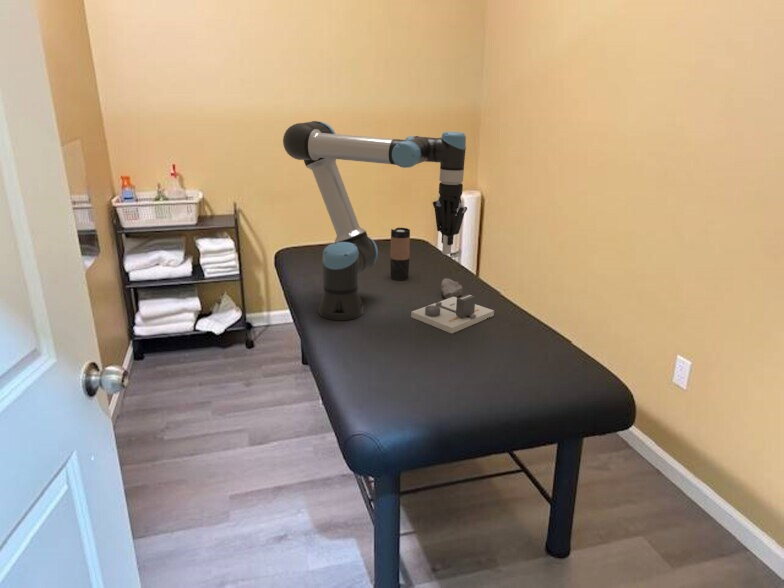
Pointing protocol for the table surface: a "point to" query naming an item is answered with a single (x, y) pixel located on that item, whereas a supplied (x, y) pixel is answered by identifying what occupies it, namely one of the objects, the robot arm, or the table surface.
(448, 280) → the stone
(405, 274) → the travel mug
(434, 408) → the table surface
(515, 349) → the table surface
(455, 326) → the console
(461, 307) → the fader
